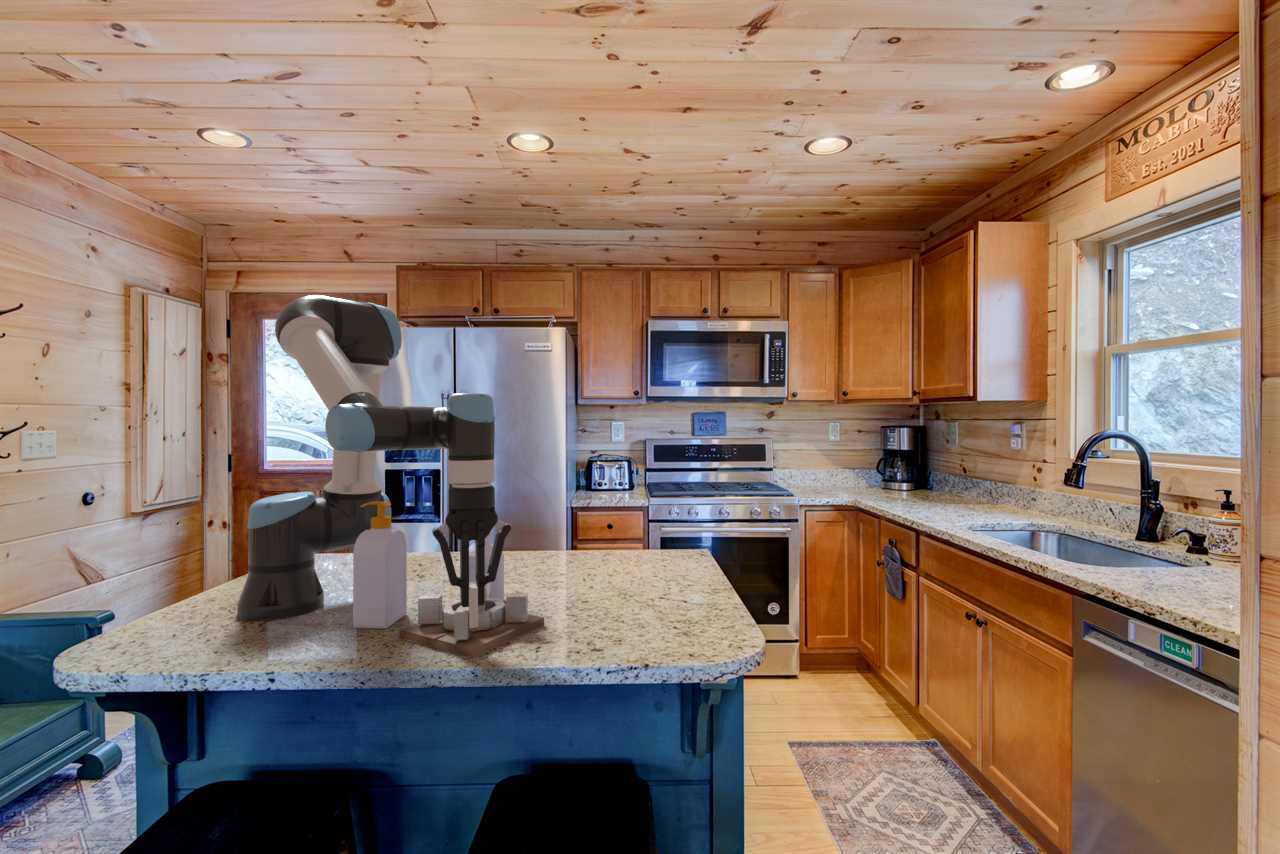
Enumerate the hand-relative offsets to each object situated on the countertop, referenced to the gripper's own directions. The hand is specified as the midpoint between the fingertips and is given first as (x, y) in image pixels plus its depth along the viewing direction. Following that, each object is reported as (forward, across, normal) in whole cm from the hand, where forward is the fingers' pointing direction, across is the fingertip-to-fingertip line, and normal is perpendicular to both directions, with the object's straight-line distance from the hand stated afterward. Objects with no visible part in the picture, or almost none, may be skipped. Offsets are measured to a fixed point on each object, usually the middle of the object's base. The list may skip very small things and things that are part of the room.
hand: (472, 624), depth 98 cm
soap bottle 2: (+4, -5, -26) cm, 27 cm away
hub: (+4, -1, -8) cm, 9 cm away
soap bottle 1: (+4, +15, -21) cm, 26 cm away
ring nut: (+2, -1, -8) cm, 9 cm away
